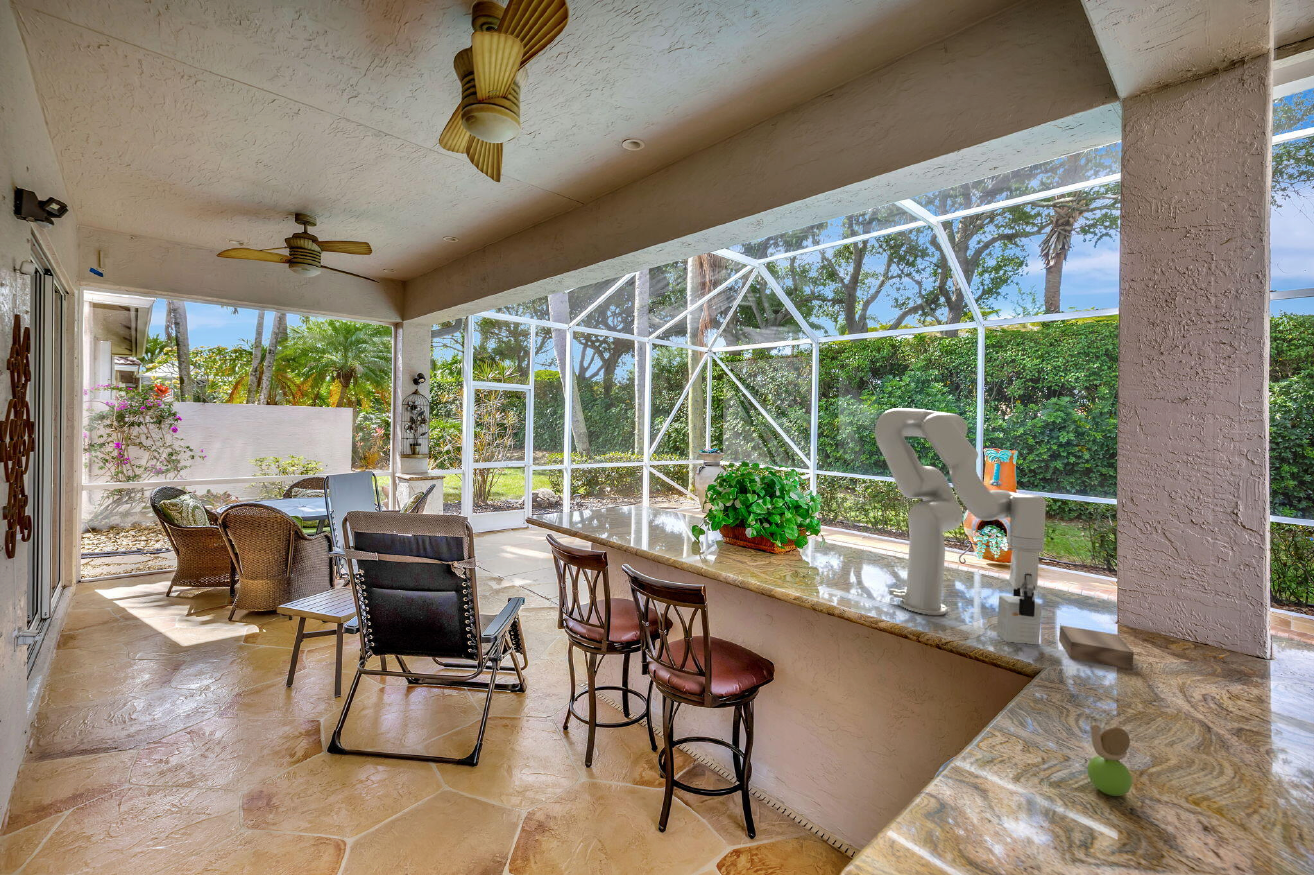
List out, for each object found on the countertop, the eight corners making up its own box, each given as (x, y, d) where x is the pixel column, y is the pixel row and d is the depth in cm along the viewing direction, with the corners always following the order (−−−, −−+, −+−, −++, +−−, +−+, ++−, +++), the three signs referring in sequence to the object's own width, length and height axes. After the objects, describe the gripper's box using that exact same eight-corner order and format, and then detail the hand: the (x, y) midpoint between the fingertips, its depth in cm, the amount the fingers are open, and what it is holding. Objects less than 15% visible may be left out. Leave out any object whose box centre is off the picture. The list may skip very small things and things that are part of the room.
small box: (1027, 636, 153) (1031, 597, 153) (1039, 645, 148) (1043, 604, 147) (995, 634, 154) (998, 594, 154) (1005, 642, 149) (1009, 601, 148)
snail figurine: (1071, 781, 93) (1078, 707, 92) (1109, 780, 93) (1116, 707, 93) (1100, 804, 87) (1107, 726, 87) (1139, 804, 88) (1147, 726, 87)
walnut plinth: (1070, 658, 141) (1071, 641, 140) (1058, 640, 152) (1060, 625, 151) (1132, 669, 136) (1133, 652, 136) (1116, 650, 147) (1117, 634, 146)
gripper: (1004, 535, 159) (1001, 598, 159) (1014, 548, 143) (1011, 618, 143) (1037, 538, 156) (1034, 602, 156) (1050, 551, 140) (1047, 623, 140)
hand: (1023, 610), depth 150 cm, fingers open, 9 cm apart
